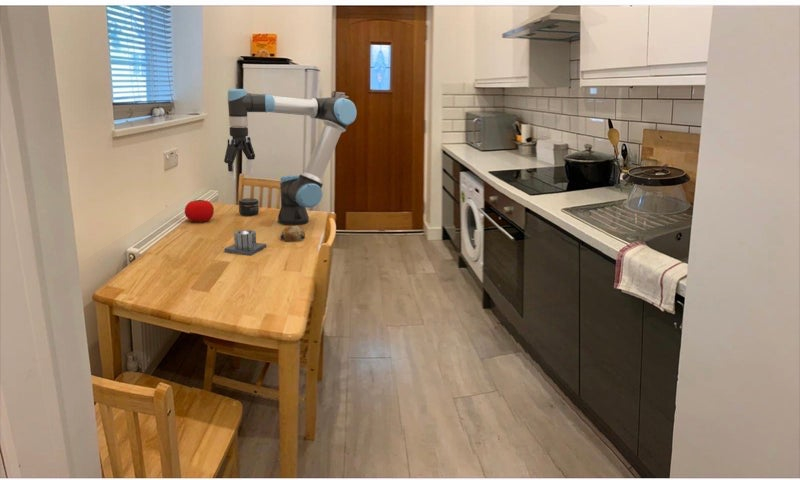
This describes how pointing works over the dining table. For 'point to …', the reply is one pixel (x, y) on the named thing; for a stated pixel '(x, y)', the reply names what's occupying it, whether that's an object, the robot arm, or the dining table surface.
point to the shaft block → (245, 251)
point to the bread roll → (293, 234)
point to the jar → (248, 207)
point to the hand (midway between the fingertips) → (241, 176)
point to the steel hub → (245, 239)
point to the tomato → (199, 210)
